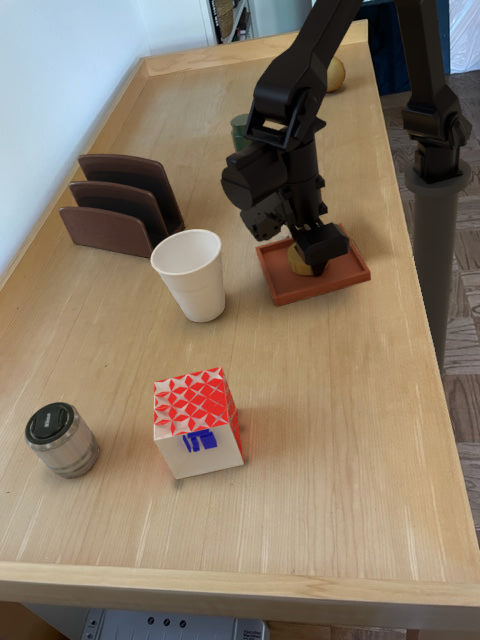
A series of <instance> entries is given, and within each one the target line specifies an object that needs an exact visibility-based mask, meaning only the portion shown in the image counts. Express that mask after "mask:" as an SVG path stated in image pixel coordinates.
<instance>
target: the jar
mask: <svg viewBox="0 0 480 640" xmlns="http://www.w3.org/2000/svg"><path fill="white" fill-rule="evenodd" d="M248 116H249V113H247V112H246V113H242V114H239V115H236V116H234V117H233V118H232V119H231V120H230V122H229V124H230V125H231V126H230V127H231V131H230V136H231V140H232V145H233V149H234V153H235V152H238V151H240V150H242V149H244V148H245V147H247V146H248V145H250V144H252V141H249V140H246V139H244V138H243V134H244V130H245V127H246V123H247V119H248Z"/></svg>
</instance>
